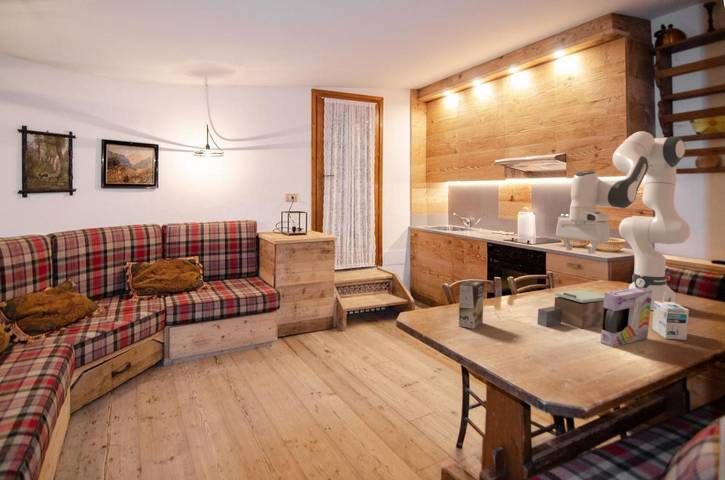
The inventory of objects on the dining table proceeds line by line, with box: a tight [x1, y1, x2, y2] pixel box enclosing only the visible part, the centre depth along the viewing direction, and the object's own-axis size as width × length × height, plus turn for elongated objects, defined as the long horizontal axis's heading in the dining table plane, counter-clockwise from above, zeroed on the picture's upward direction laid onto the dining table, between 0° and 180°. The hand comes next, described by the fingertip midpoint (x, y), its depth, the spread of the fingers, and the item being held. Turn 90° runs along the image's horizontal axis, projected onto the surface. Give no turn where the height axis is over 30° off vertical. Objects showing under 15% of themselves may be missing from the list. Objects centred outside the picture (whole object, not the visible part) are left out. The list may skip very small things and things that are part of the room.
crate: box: [553, 296, 604, 329], centre depth 167 cm, size 16×12×9 cm
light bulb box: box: [651, 301, 690, 341], centre depth 152 cm, size 11×7×11 cm, turn 168°
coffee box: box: [458, 280, 485, 330], centre depth 162 cm, size 9×6×16 cm
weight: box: [537, 306, 562, 328], centre depth 163 cm, size 8×4×6 cm, turn 116°
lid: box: [554, 289, 604, 303], centre depth 166 cm, size 16×12×2 cm
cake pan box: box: [600, 287, 652, 348], centre depth 144 cm, size 19×5×18 cm, turn 114°
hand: (580, 251), depth 163 cm, fingers open, 8 cm apart
